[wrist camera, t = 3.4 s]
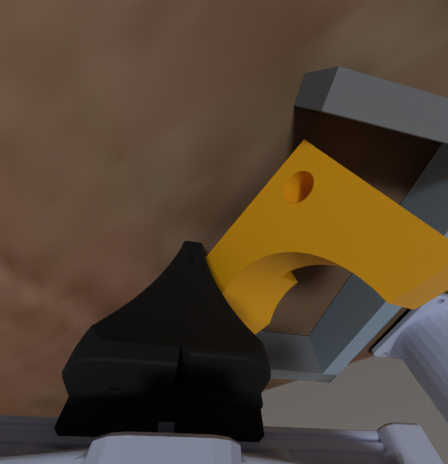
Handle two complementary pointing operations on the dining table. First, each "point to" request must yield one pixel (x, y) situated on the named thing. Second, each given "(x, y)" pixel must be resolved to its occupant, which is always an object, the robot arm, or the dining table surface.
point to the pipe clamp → (325, 240)
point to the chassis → (416, 202)
